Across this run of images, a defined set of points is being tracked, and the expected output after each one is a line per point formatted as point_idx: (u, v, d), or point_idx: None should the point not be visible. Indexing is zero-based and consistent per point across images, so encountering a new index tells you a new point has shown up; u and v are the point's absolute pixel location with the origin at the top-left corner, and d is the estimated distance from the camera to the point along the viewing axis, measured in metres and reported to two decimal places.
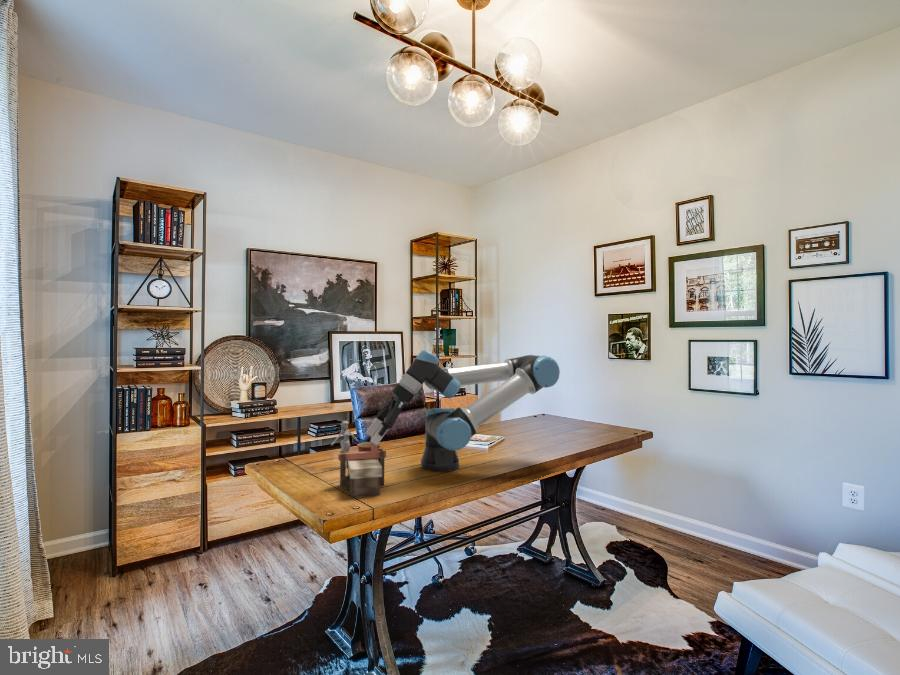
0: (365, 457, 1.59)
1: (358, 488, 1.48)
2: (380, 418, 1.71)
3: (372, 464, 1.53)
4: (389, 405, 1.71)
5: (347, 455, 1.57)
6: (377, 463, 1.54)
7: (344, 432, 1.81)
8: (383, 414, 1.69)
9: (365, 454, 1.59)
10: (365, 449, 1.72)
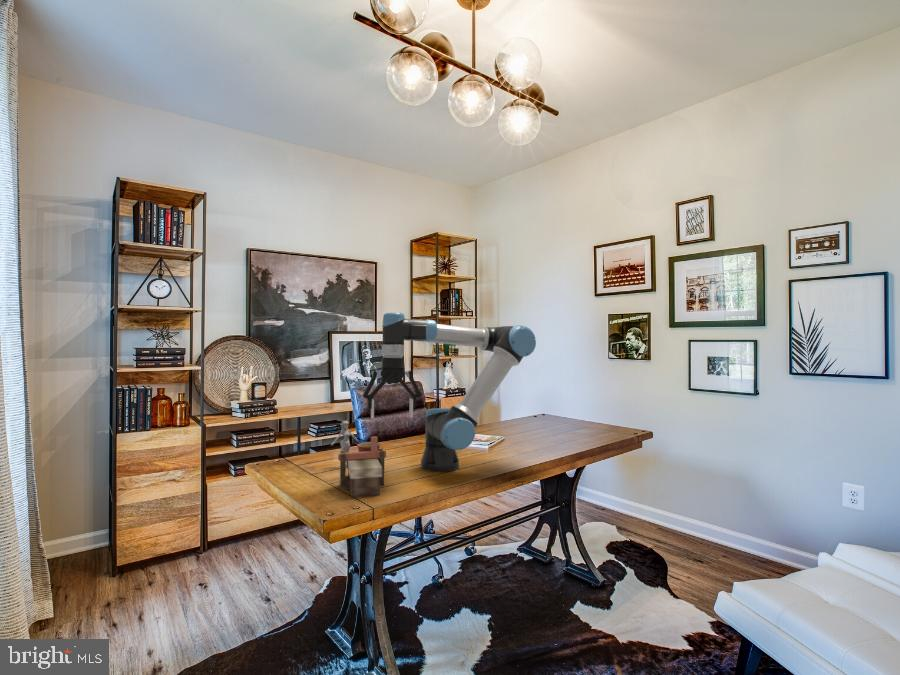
0: (365, 457, 1.59)
1: (358, 488, 1.48)
2: None
3: (372, 464, 1.53)
4: None
5: (347, 455, 1.57)
6: (377, 463, 1.54)
7: (344, 432, 1.81)
8: None
9: (365, 454, 1.59)
10: (365, 449, 1.72)
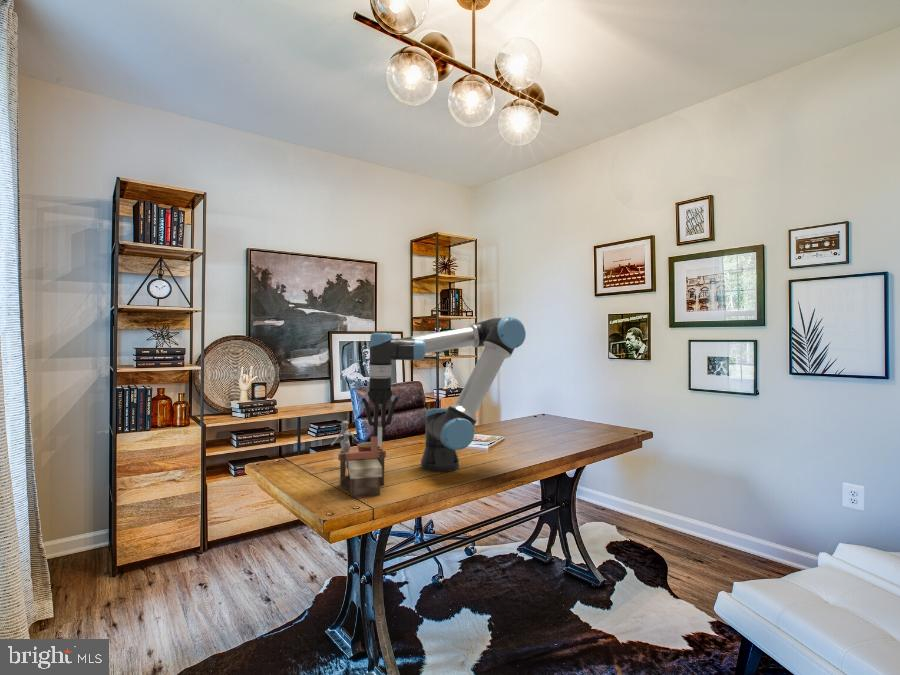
0: (365, 457, 1.59)
1: (358, 488, 1.48)
2: None
3: (372, 464, 1.53)
4: (368, 406, 1.60)
5: (347, 455, 1.57)
6: (377, 463, 1.54)
7: (344, 432, 1.81)
8: (377, 416, 1.61)
9: (365, 454, 1.59)
10: (365, 449, 1.72)
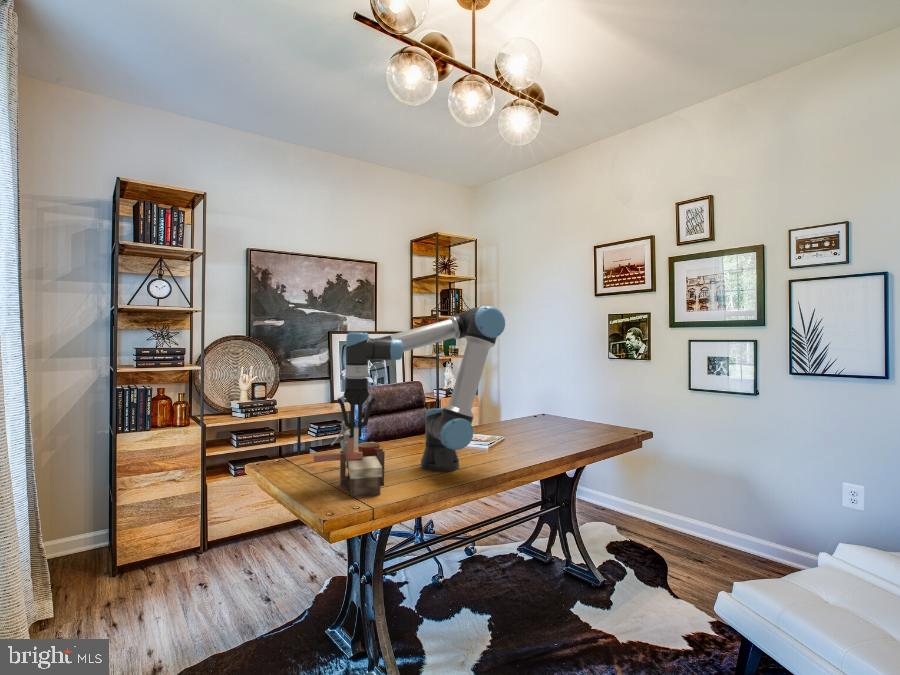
0: None
1: (358, 488, 1.48)
2: None
3: (372, 464, 1.53)
4: (344, 406, 1.58)
5: (322, 457, 1.55)
6: (377, 463, 1.54)
7: (344, 432, 1.81)
8: None
9: None
10: (365, 449, 1.72)
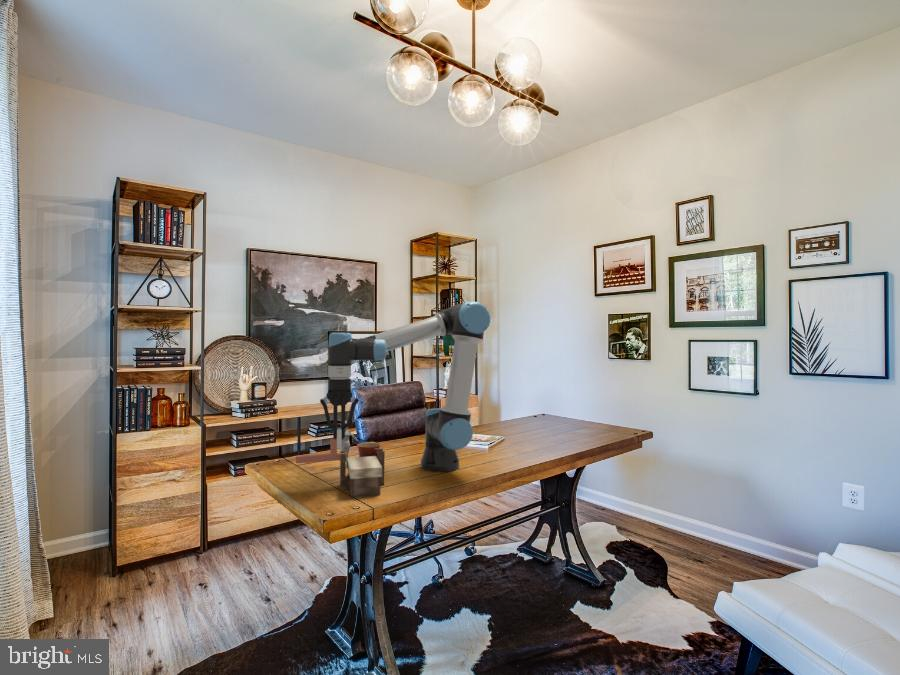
0: (324, 460, 1.55)
1: (358, 488, 1.48)
2: None
3: (372, 464, 1.53)
4: None
5: (305, 458, 1.53)
6: (377, 463, 1.54)
7: None
8: None
9: (324, 456, 1.55)
10: (365, 449, 1.72)
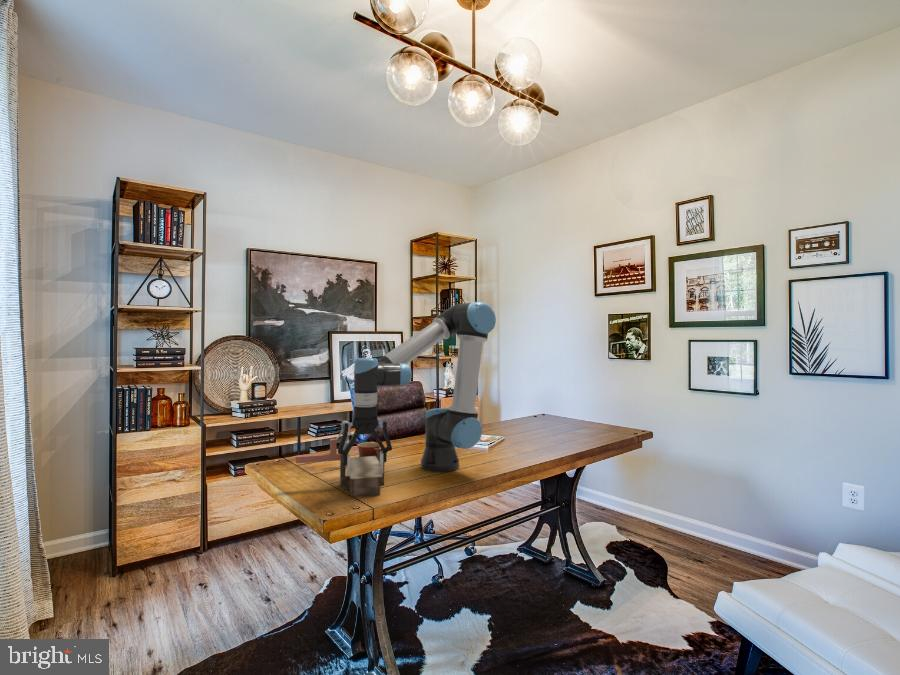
0: (323, 460, 1.55)
1: (358, 488, 1.48)
2: None
3: (372, 464, 1.53)
4: (347, 433, 1.50)
5: (304, 458, 1.53)
6: (377, 463, 1.54)
7: None
8: None
9: (324, 456, 1.55)
10: (365, 449, 1.72)
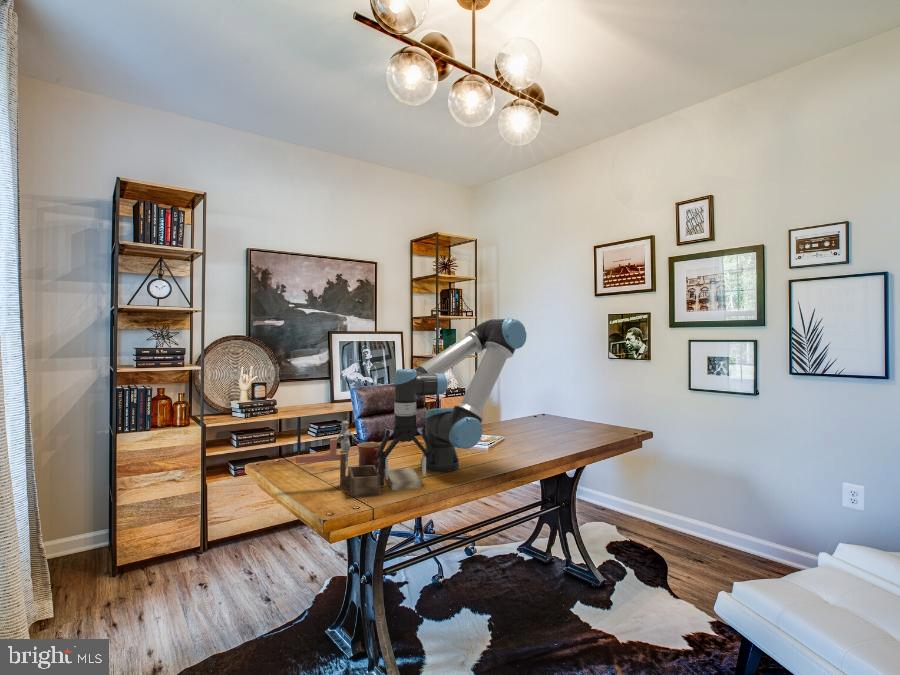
0: (323, 460, 1.55)
1: (358, 488, 1.48)
2: None
3: (411, 477, 1.61)
4: None
5: (304, 458, 1.53)
6: (415, 476, 1.63)
7: (344, 432, 1.81)
8: None
9: (324, 456, 1.55)
10: (365, 449, 1.72)
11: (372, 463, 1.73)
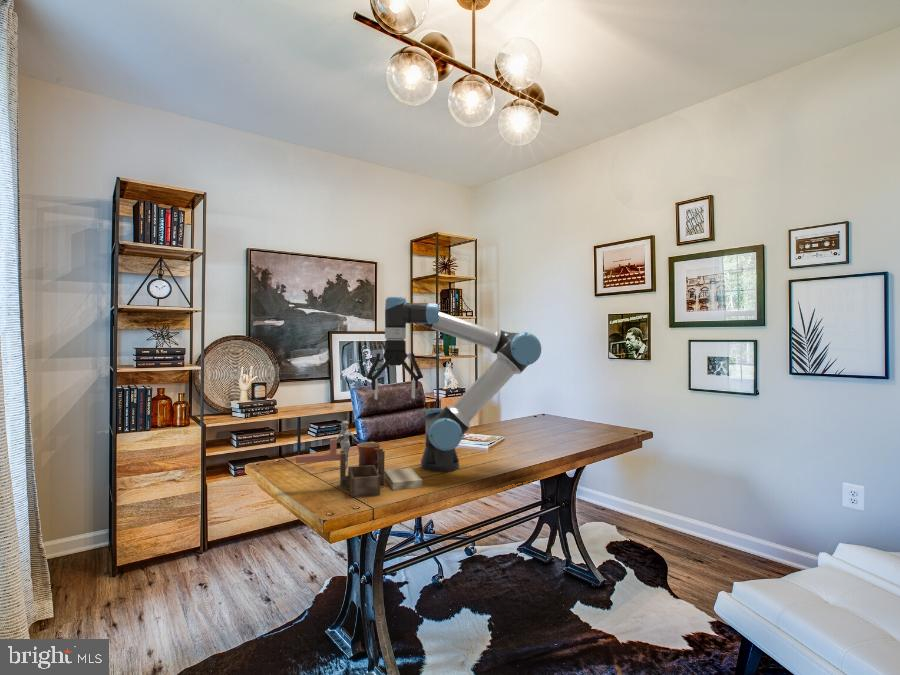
0: (323, 460, 1.55)
1: (358, 488, 1.48)
2: None
3: (411, 477, 1.61)
4: (377, 362, 1.67)
5: (304, 458, 1.53)
6: (416, 476, 1.63)
7: (344, 432, 1.81)
8: (380, 373, 1.67)
9: (324, 456, 1.55)
10: (365, 449, 1.72)
11: (372, 463, 1.73)
